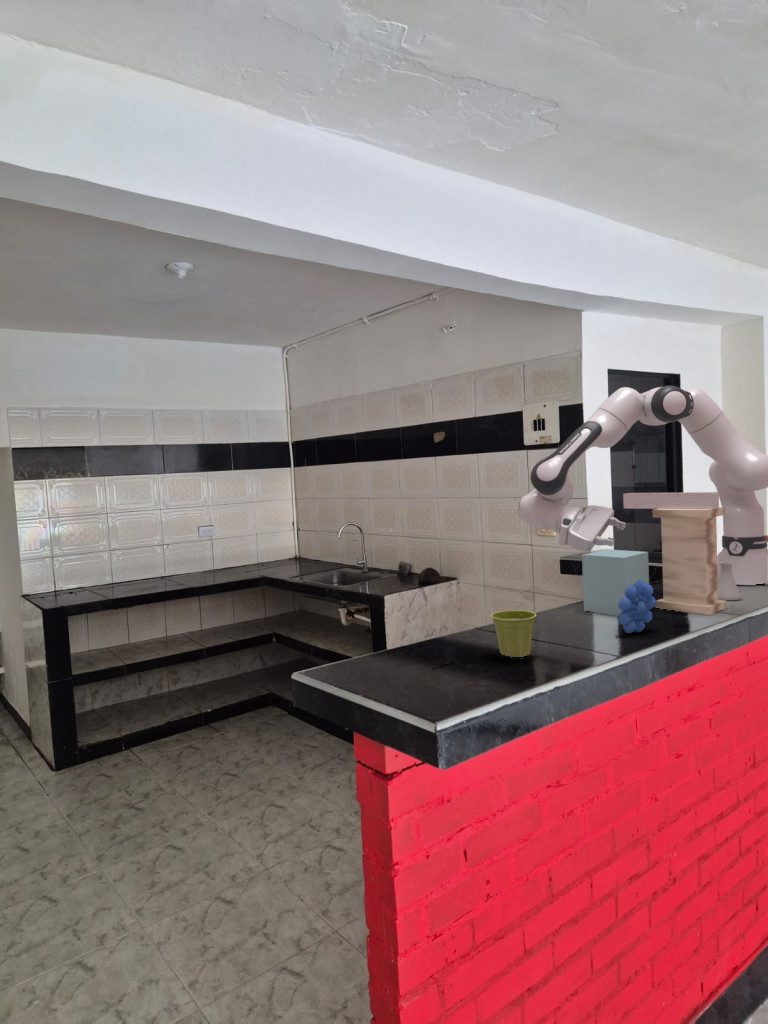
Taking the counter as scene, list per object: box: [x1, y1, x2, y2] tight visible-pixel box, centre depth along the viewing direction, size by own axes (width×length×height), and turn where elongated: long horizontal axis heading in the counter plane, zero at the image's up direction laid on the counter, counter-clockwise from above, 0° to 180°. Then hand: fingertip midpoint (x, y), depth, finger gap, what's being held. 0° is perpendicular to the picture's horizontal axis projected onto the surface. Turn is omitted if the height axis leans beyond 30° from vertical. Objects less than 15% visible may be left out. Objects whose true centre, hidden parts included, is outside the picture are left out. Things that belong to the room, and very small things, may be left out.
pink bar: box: [622, 491, 720, 510], centre depth 179 cm, size 4×24×4 cm, turn 41°
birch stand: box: [652, 506, 728, 616], centre depth 176 cm, size 10×14×26 cm
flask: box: [718, 562, 743, 601], centre depth 186 cm, size 7×7×10 cm
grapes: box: [617, 580, 657, 634], centre depth 156 cm, size 12×7×12 cm, turn 120°
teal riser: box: [581, 549, 650, 617], centre depth 179 cm, size 12×12×15 cm
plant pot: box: [490, 609, 537, 658], centre depth 143 cm, size 9×9×9 cm
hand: (619, 534), depth 192 cm, fingers open, 8 cm apart
